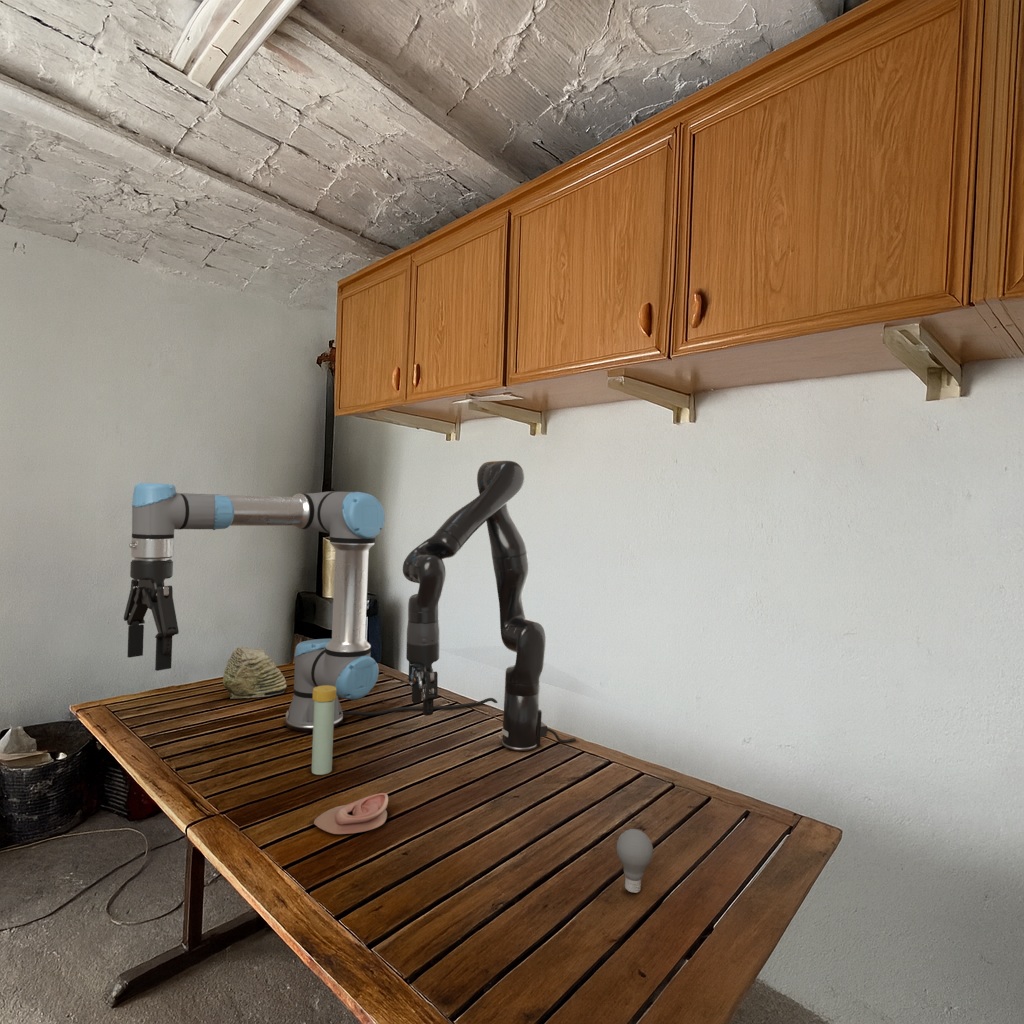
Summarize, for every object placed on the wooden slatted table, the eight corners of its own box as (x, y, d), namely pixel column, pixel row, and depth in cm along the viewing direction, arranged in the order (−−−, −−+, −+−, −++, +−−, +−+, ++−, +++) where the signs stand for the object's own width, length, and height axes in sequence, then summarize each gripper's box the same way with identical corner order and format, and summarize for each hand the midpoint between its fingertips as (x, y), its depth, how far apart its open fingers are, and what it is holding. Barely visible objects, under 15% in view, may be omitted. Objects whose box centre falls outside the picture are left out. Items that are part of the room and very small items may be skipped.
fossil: (218, 695, 195) (220, 647, 195) (278, 685, 208) (279, 640, 207) (228, 703, 189) (230, 653, 188) (289, 692, 201) (290, 645, 201)
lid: (311, 695, 148) (312, 686, 148) (335, 694, 149) (335, 684, 149) (313, 702, 143) (313, 692, 143) (337, 701, 145) (337, 691, 145)
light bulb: (610, 879, 108) (613, 822, 108) (644, 879, 109) (647, 822, 109) (619, 902, 102) (622, 840, 102) (655, 901, 103) (658, 840, 103)
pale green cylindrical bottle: (310, 767, 148) (313, 688, 147) (330, 765, 149) (333, 687, 149) (312, 775, 143) (315, 694, 143) (332, 773, 145) (335, 692, 145)
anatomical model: (306, 809, 120) (334, 783, 131) (305, 829, 120) (334, 802, 131) (371, 819, 117) (395, 791, 129) (370, 840, 117) (394, 811, 129)
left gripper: (108, 554, 134) (104, 654, 134) (159, 565, 118) (155, 678, 119) (146, 552, 140) (143, 648, 140) (199, 563, 124) (195, 671, 124)
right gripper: (449, 645, 141) (448, 717, 142) (428, 630, 154) (427, 696, 155) (416, 649, 138) (415, 722, 139) (398, 633, 150) (397, 700, 151)
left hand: (148, 662), depth 129 cm, fingers open, 13 cm apart
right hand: (422, 708), depth 147 cm, fingers open, 8 cm apart
